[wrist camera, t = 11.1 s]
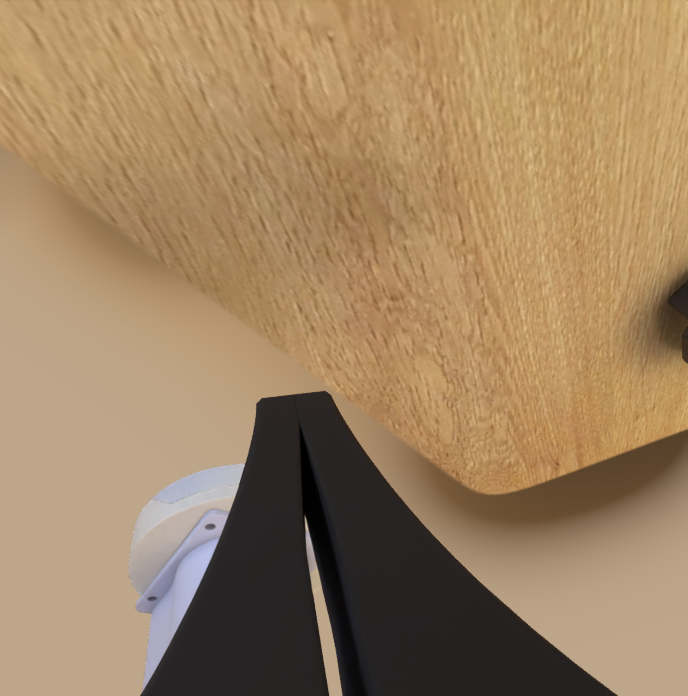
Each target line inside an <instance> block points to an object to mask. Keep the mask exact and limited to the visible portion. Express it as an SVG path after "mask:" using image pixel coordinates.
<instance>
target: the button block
mask: <svg viewBox="0 0 688 696" xmlns="http://www.w3.org/2000/svg"><path fill="white" fill-rule="evenodd" d="M668 303H669V304H671V305H672V306H673V307H674V308H675V309H677V310H678V311H679V312H680V313H681V314H683V315H684V316H685V317H686V318H687V319H688V282H687V283H686V284H685V285H684V286H683V287H682V288H681V289H680V290H678V291H677V292H676V293H675V294H674V295H673V296H672V297H671V298H670V299H669V300H668ZM682 358H683V360H684V361H685V362H686V363H687V364H688V326H687V327H686V329H685V331H684V333H683V335H682Z"/></svg>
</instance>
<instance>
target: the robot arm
mask: <svg viewBox="0 0 688 696" xmlns="http://www.w3.org/2000/svg"><path fill="white" fill-rule="evenodd" d="M305 517H306V522H307V526H308V530H309V532H306V529H305ZM316 568H318V573H319V577H320V581H321V585H322V590H323V594H324V598H325V602H326V606H327V611H328V615H329V619H330V623H331V628H332V633H333V638H334V643H335V648H336V654H337V661H338V668H339V674H340V681H341V688H342V694H343V696H617V695H616V694H615V693H613V692H612V691H611V690H609V689H608V688H607V687H605V686H604V685H603V684H601V683H600V682H599V681H597V680H596V679H595V678H593V677H592V676H591V675H590V674H588V673H587V672H586V671H584V670H583V669H582V668H581V667H579V666H578V665H577V664H575V663H574V662H573V661H572V660H570V659H569V658H568V657H567V656H566V655H564V654H563V653H562V652H561V651H559V650H558V649H557V648H556V647H554V646H553V645H552V644H550V643H549V642H548V641H547V640H546V639H545V638H543V637H542V636H541V635H540V634H538V633H537V632H536V631H535V630H533V629H532V628H531V627H530V626H529V625H528V624H527V623H526V622H525V621H523V620H522V619H521V618H520V617H519V616H517V614H515V613H514V612H513V611H512V610H511V609H510V608H509V607H508V606H506V605H505V604H504V603H503V602H502V601H501V600H499V599H498V598H497V597H496V596H495V595H494V594H493V593H492V592H490V591H489V590H488V589H487V588H486V587H485V586H484V585H483V584H481V583H480V582H479V581H478V580H477V579H476V578H475V577H474V576H473V575H472V574H471V573H470V572H469V571H468V570H467V569H466V568H465V567H464V566H463V565H462V564H461V563H460V562H459V561H458V560H457V559H456V558H454V556H453V555H451V553H450V552H449V551H448V550H447V549H446V548H445V547H444V546H443V545H442V544H441V543H440V542H439V541H438V540H437V539H436V538H435V537H434V536H433V535H432V533H431V532H430V531H429V530H428V529H427V528H426V527H425V526H424V525H423V524H422V523H421V521H420V520H419V519H418V518H417V517H416V516H415V515H414V513H413V512H412V511H411V510H410V509H409V508H408V506H407V505H406V504H405V503H404V501H403V500H402V499H401V498H400V497H399V496H398V494H397V493H396V492H395V491H394V489H393V488H392V487H391V486H390V484H389V483H388V482H387V481H386V479H385V478H384V477H383V475H382V474H381V473H380V471H379V470H378V469H377V467H376V466H375V465H374V463H373V462H372V461H371V459H370V458H369V456H368V455H367V454H366V452H365V451H364V449H363V448H362V447H361V445H360V444H359V442H358V441H357V439H356V438H355V436H354V435H353V433H352V431H351V430H350V428H349V427H348V425H347V424H346V422H345V420H344V419H343V417H342V415H341V414H340V412H339V410H338V408H337V406H336V404H335V402H334V400H333V398H332V396H331V395H330V394H328V392H326V391H320V392H312V393H303V394H294V395H286V396H277V397H268V398H262V399H261V400H260V401H259V402H258V403H257V404H256V418H255V425H254V431H253V436H252V440H251V445H250V449H249V453H248V457H247V460H246V463H245V467H244V470H243V473H242V477H241V480H240V483H239V487H238V490H237V493H236V496H235V499H234V501H233V504H232V507H231V509H230V512H227V511H223V510H219V509H213V510H210V511H208V512H207V513H206V514H205V515H204V516H203V518H202V519H201V520H200V521H199V523H198V524H197V525H196V527H195V528H194V529H193V530H192V532H191V533H190V534H189V535H188V537H187V538H186V539H185V541H184V542H183V543H182V544H181V546H180V547H179V548H178V549H177V551H176V552H175V553H174V555H173V556H172V557H171V558H170V560H169V561H168V562H167V563H166V565H165V566H164V567H163V569H162V570H161V571H160V572H159V574H158V575H157V576H156V577H155V579H154V580H153V581H152V583H151V584H150V585H149V586H148V588H147V589H146V590H145V591H144V593H143V594H142V595H141V597H140V598H139V599H138V601H137V602H136V610H137V611H139V612H144V613H151V623H150V631H149V639H148V648H147V657H146V665H145V674H144V682H143V692H142V694H141V695H140V696H329V692H328V685H327V679H326V673H325V667H324V661H323V655H322V649H321V642H320V635H319V629H318V623H317V616H316V610H315V603H314V597H313V591H312V584H311V578H310V574H311V573H312V572H313V571H314V570H315V569H316Z"/></svg>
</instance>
